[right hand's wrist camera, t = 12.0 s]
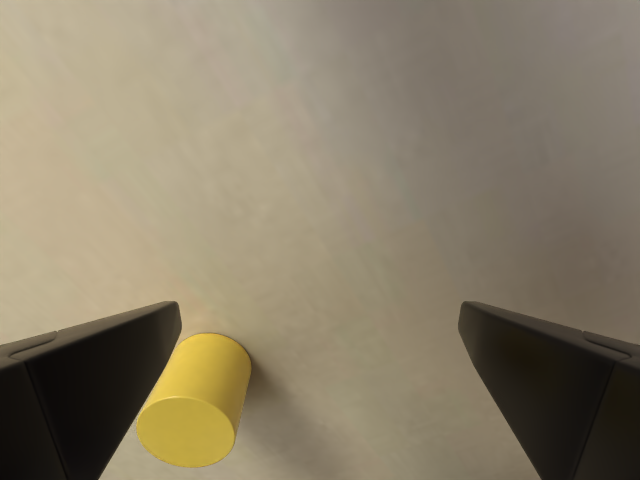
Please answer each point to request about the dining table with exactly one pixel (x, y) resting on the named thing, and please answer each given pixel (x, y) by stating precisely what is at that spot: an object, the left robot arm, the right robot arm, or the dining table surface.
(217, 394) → the cylinder
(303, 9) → the dining table surface
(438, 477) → the dining table surface
